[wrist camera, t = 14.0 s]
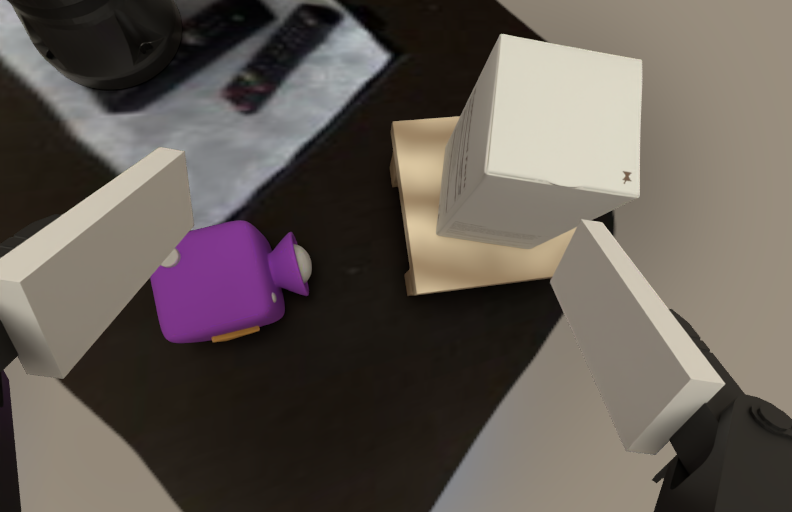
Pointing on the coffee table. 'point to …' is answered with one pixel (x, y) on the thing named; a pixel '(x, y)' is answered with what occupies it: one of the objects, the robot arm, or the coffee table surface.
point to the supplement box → (542, 144)
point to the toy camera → (226, 282)
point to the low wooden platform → (443, 256)
